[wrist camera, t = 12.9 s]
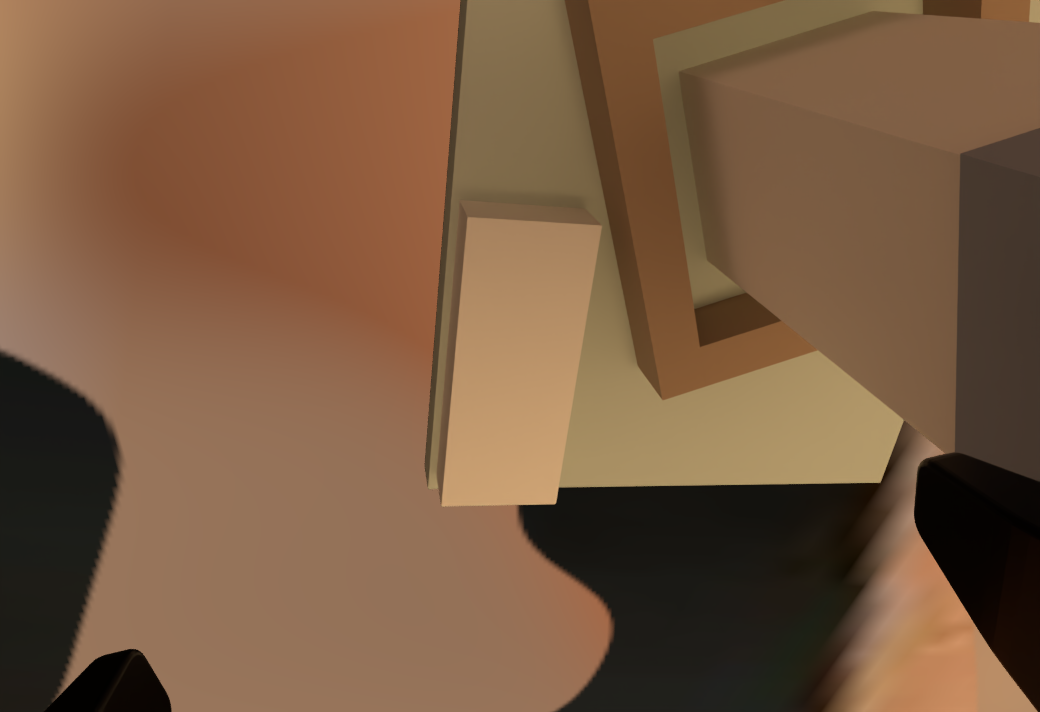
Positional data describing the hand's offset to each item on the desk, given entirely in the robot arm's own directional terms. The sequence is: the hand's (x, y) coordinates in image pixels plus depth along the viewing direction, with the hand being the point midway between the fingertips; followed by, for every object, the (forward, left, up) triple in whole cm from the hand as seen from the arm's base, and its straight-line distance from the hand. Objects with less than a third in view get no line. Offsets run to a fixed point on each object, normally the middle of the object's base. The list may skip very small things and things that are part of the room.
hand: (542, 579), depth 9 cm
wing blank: (+2, -3, -12) cm, 12 cm away
